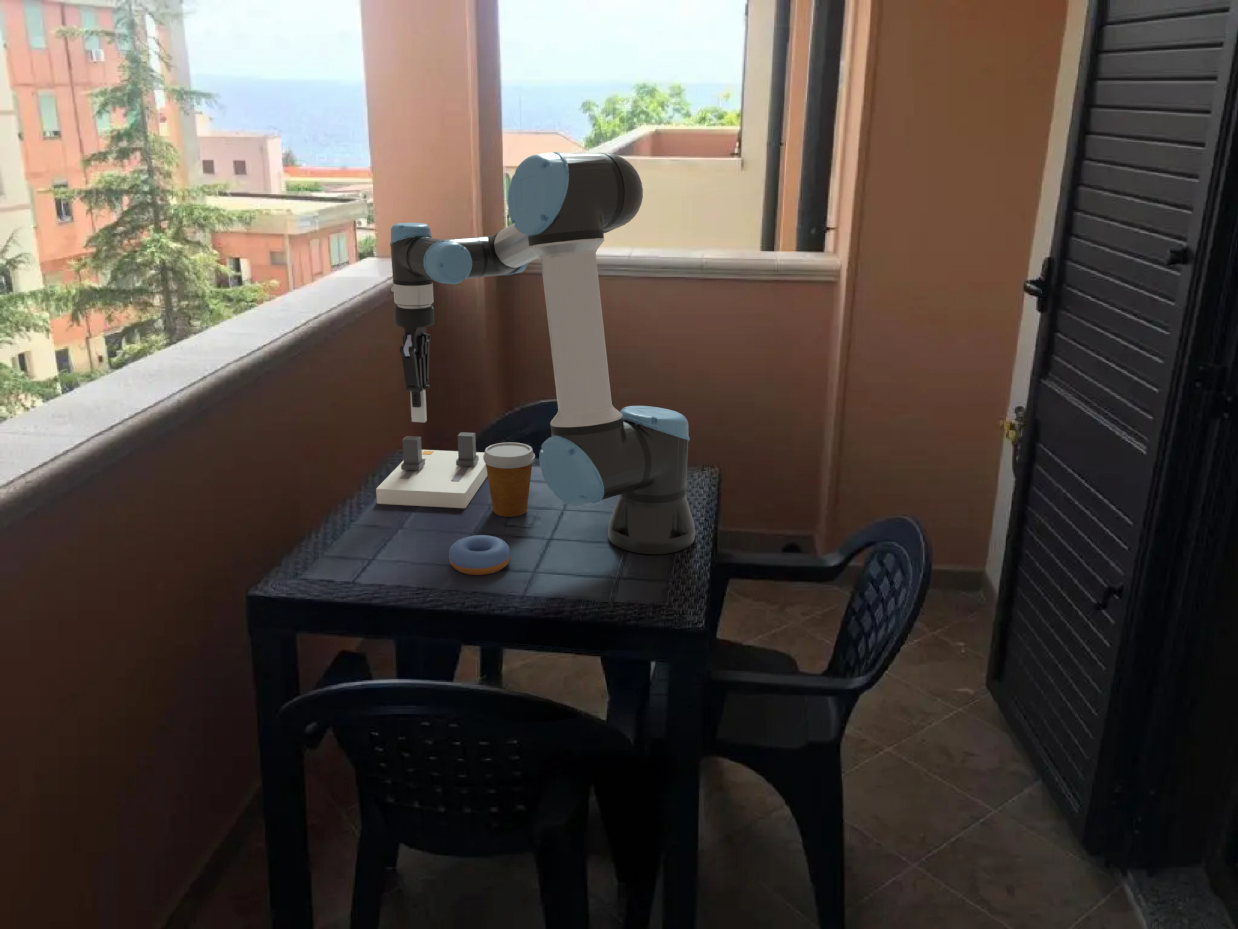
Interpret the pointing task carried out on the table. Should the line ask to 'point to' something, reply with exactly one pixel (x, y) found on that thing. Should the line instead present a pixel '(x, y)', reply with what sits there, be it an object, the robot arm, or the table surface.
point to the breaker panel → (434, 482)
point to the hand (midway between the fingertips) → (419, 420)
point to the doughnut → (479, 555)
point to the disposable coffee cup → (509, 477)
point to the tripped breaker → (412, 453)
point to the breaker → (466, 450)
